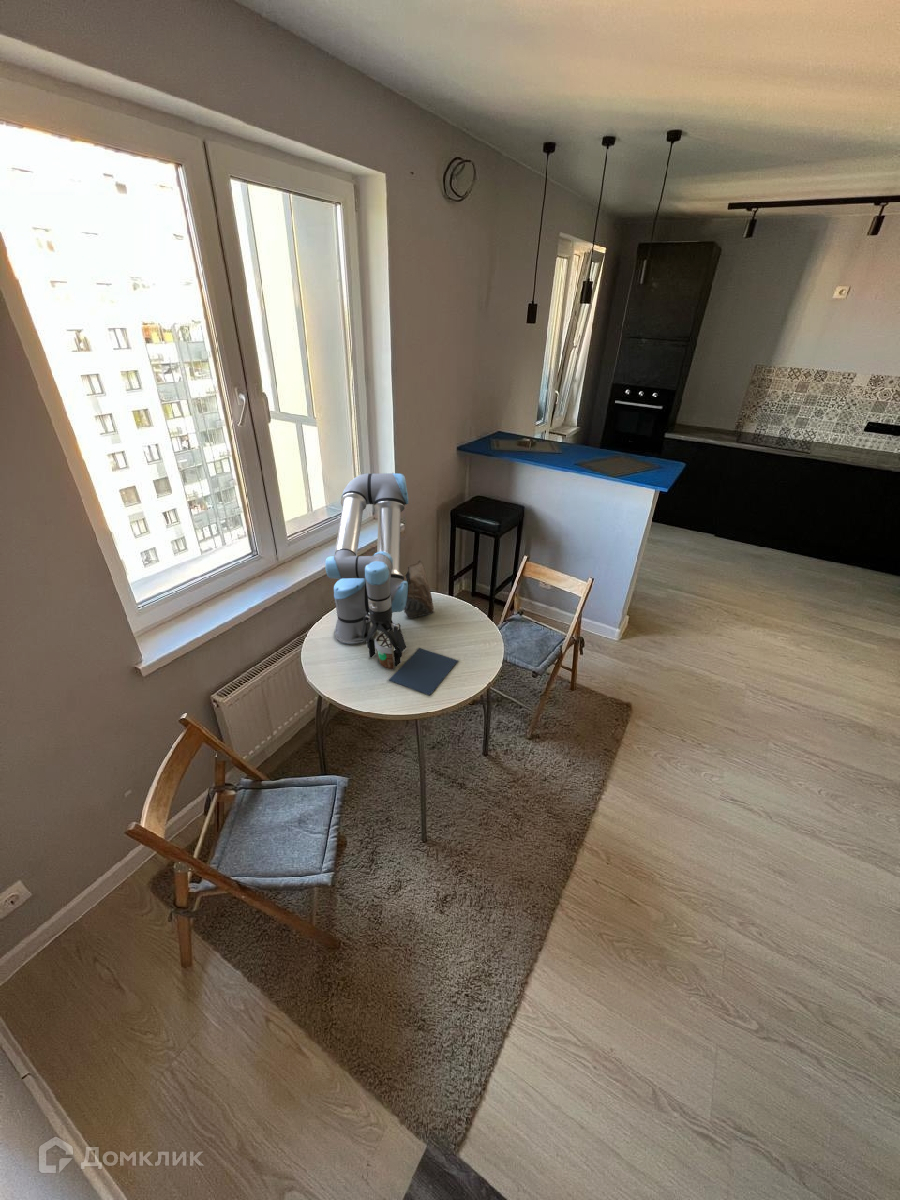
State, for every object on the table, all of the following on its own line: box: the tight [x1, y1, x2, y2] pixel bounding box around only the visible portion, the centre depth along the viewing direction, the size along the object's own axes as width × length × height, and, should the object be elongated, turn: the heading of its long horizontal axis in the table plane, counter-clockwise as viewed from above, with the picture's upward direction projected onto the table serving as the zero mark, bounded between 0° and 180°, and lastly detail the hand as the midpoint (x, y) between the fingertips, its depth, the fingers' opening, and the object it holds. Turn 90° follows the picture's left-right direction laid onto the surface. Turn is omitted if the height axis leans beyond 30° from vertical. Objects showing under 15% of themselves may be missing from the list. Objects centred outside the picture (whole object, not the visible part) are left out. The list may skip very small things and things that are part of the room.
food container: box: [374, 629, 395, 670], centre depth 172 cm, size 12×6×10 cm, turn 5°
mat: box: [388, 647, 459, 696], centre depth 170 cm, size 16×20×1 cm
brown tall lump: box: [403, 559, 434, 619], centre depth 196 cm, size 13×13×20 cm
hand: (385, 659), depth 175 cm, fingers open, 10 cm apart
